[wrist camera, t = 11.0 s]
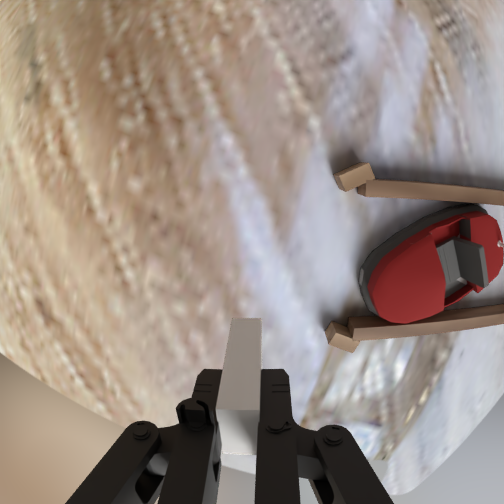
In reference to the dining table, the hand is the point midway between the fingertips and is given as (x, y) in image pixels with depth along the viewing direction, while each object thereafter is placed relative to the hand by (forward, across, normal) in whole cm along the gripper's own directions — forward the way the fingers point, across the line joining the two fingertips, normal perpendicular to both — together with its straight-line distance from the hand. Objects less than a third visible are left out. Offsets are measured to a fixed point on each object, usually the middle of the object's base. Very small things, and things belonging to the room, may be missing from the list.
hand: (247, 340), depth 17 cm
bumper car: (+16, +20, -1) cm, 26 cm away
